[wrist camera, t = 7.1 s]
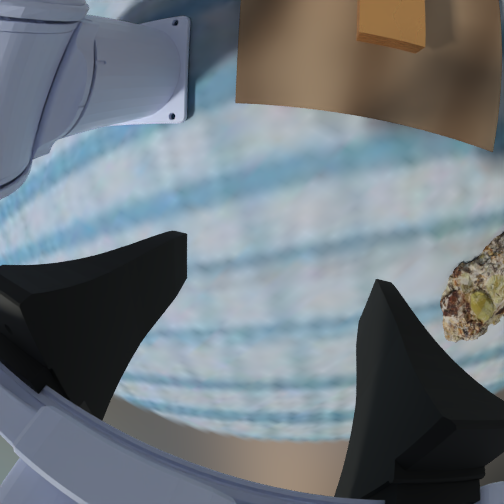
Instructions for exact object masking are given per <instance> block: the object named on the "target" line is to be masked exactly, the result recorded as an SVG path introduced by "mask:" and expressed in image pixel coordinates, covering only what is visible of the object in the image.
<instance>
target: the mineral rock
mask: <svg viewBox="0 0 504 504" xmlns="http://www.w3.org/2000/svg"><path fill="white" fill-rule="evenodd" d="M440 306H441V309H442V311H443V328H444V335H445V338H446V339H447V340H448V341H454V342H457V341H459V340H462V339H463V340H466V341H468V340H469V339H470V340H474V339H478V337H479V336H481V335H483V334H485V333H486V332H487V327H488V325H490V324H493V325H496V324H497V323H498V322H499V321H500V318H501V317H502V316H504V233H502V234H500V235H499V236H497V237H496V238H494V239H493V240H492V241H491V243H490V244H489V245H488V246H486V247H485V249H484V250H483V252H482V254H481V255H479V256H478V257H477V258H476V259H475V260H474V261H472V262H470V263H467V264H465V263H463V262H462V263H461V264H460V265H459V266H458V267H457V268H456V269H455V270H454V271H453V274H452V275H450V277H449V281H448V285H447V288H446V290H445V291H444V292H443V295H442V298H441V301H440Z"/></svg>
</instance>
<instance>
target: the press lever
mask: <svg viewBox="0 0 504 504" xmlns="http://www.w3.org/2000/svg"><path fill="white" fill-rule="evenodd" d="M425 38H426V28H425V0H357V37H356V41H360V42H366V43H371V44H376V45H381V46H386V47H391V48H395V49H399V50H403V51H407V52H411V53H415V54H416V53H417V52H419V51H420V50H422V49H423V48H425Z"/></svg>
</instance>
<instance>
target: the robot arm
mask: <svg viewBox="0 0 504 504" xmlns="http://www.w3.org/2000/svg"><path fill="white" fill-rule="evenodd" d="M88 10H89V6H88V4H87V3H86V1H85V0H0V199H2V198H4V197H6V196H8V195H10V194H12V193H13V192H15V191H16V190H17V189H18V188H19V187H20V186H21V185H22V184H23V183H24V182H25V180H26V179H27V177H28V175H29V173H30V169H31V165H32V159H35V158H38V157H40V156H43V155H46V154H48V153H49V152H50V150H51V147H52V145H53V144H54V143H55V141H57V140H58V139H61V138H64V137H68V136H71V135H74V134H78V133H82V132H85V131H89V130H93V129H97V128H101V127H105V126H115V125H132V124H160V123H182V122H184V121H185V120H186V119H187V89H188V59H189V39H190V23H191V22H190V19H189V18H188V17H186V16H178V17H172V18H166V19H161V20H155V21H151V22H146V23H141V24H135V23H130V22H126V21H121V20H116V19H110V18H105V17H99V16H93V15H86V14H87V12H88ZM176 21H178V22H179V23H178V25H177V26H175V25H174V24H175V22H176ZM172 113H174V114H175V119H172V117H171V115H172ZM186 279H187V234H186V233H181V232H177V231H169V232H165V233H162V234H159V235H156V236H153V237H150V238H147V239H144V240H141V241H139V242H136V243H133V244H130V245H127V246H124V247H121V248H118V249H115V250H112V251H109V252H105V253H102V254H98V255H95V256H90V257H86V258H82V259H77V260H71V261H65V262H59V263H51V264H39V265H1V266H0V435H1V436H2V437H3V438H4V439H5V440H6V441H7V442H8V443H9V444H10V445H11V446H12V447H13V449H14V452H15V453H16V454H17V455H18V456H19V457H20V458H19V459H18V461H17V462H16V464H15V465H14V466H13V468H12V469H11V471H10V472H9V473H8V475H7V476H6V478H5V479H4V481H3V482H2V484H1V485H0V504H504V481H501V482H496V483H491V484H487V485H485V486H482V487H480V483H479V479H482V478H483V477H484V476H485V468H484V466H485V465H487V464H488V463H490V462H491V461H492V460H494V459H495V458H496V457H498V456H499V455H500V454H502V453H503V452H504V401H503V400H501V399H500V398H498V397H497V396H495V395H494V394H492V393H491V392H489V391H488V390H487V389H486V388H484V387H483V386H482V385H480V384H479V383H478V382H477V381H475V380H474V379H473V378H472V377H471V376H470V375H468V374H467V373H466V372H465V371H464V370H463V369H462V368H461V367H460V366H459V365H458V364H456V363H455V362H454V361H453V360H452V359H451V358H450V357H449V355H448V354H447V353H446V352H445V351H444V350H443V349H442V348H441V347H440V346H439V345H438V343H437V342H436V341H435V340H434V339H433V337H432V336H431V335H430V334H429V332H428V331H427V330H426V329H425V327H424V326H423V325H422V323H421V322H420V321H419V319H418V318H417V317H416V315H415V314H414V313H413V311H412V310H411V308H410V307H409V306H408V304H407V303H406V301H405V300H404V298H403V297H402V296H401V294H400V293H399V291H398V290H397V289H396V287H395V286H394V285H393V284H392V283H391V282H387V281H383V280H379V279H376V280H375V283H374V286H373V288H372V291H371V293H370V296H369V298H368V301H367V303H366V306H365V308H364V310H363V313H362V315H361V317H360V320H359V324H358V333H357V343H356V366H357V386H356V406H355V413H354V419H353V425H352V431H351V436H350V441H349V446H348V450H347V454H346V459H345V462H344V466H343V470H342V473H341V477H340V480H339V483H338V486H337V489H336V493H335V496H334V497H331V496H323V495H316V494H309V493H302V492H297V491H292V490H287V489H281V488H277V487H272V486H268V485H264V484H260V483H256V482H251V481H248V480H244V479H241V478H237V477H234V476H230V475H227V474H224V473H220V472H218V471H214V470H211V469H208V468H206V467H203V466H200V465H197V464H194V463H192V462H189V461H186V460H184V459H181V458H179V457H176V456H173V455H171V454H169V453H166V452H164V451H162V450H160V449H157V448H155V447H153V446H151V445H148V444H146V443H144V442H142V441H140V440H138V439H136V438H134V437H132V436H130V435H128V434H126V433H124V432H122V431H120V430H118V429H116V428H114V427H112V426H111V425H109V424H107V423H105V422H103V421H102V420H103V418H104V415H105V412H106V410H107V407H108V405H109V403H110V400H111V398H112V396H113V394H114V392H115V389H116V387H117V385H118V383H119V381H120V379H121V377H122V375H123V373H124V371H125V370H126V368H127V366H128V364H129V362H130V360H131V359H132V357H133V355H134V353H135V352H136V350H137V348H138V347H139V345H140V343H141V342H142V340H143V339H144V338H145V336H146V335H147V333H148V332H149V331H150V330H151V328H152V327H153V326H154V324H155V323H156V322H157V321H158V319H159V318H160V317H161V316H162V314H163V313H164V312H165V311H166V309H167V308H168V307H169V305H170V304H171V303H172V302H173V300H174V299H175V298H176V296H177V294H178V293H179V291H180V289H181V288H182V286H183V284H184V282H185V280H186Z"/></svg>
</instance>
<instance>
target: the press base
mask: <svg viewBox="0 0 504 504" xmlns="http://www.w3.org/2000/svg"><path fill="white" fill-rule="evenodd" d="M425 28H426V38H425V48H423V49H422V50H420V51H419V52H417V53H416V54H415V53H411V52H407V51H403V50H399V49H395V48H391V47H386V46H381V45H376V44H371V43H366V42H360V41H356V37H357V0H241V5H240V22H239V39H238V58H237V78H236V101H235V103H247V104H265V105H278V106H290V107H300V108H309V109H317V110H324V111H331V112H338V113H345V114H351V115H356V116H362V117H367V118H373V119H378V120H383V121H387V122H392V123H396V124H401V125H405V126H409V127H413V128H417V129H421V130H425V131H428V132H432V133H436V134H439V135H443V136H446V137H449V138H453V139H456V140H459V141H462V142H465V143H468V144H471V145H474V146H477V147H480V148H483V149H485V150H488V151H491V152H493V148H494V142H495V135H496V129H497V121H498V113H499V104H500V92H501V73H502V37H501V20H500V8H499V0H425Z"/></svg>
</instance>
